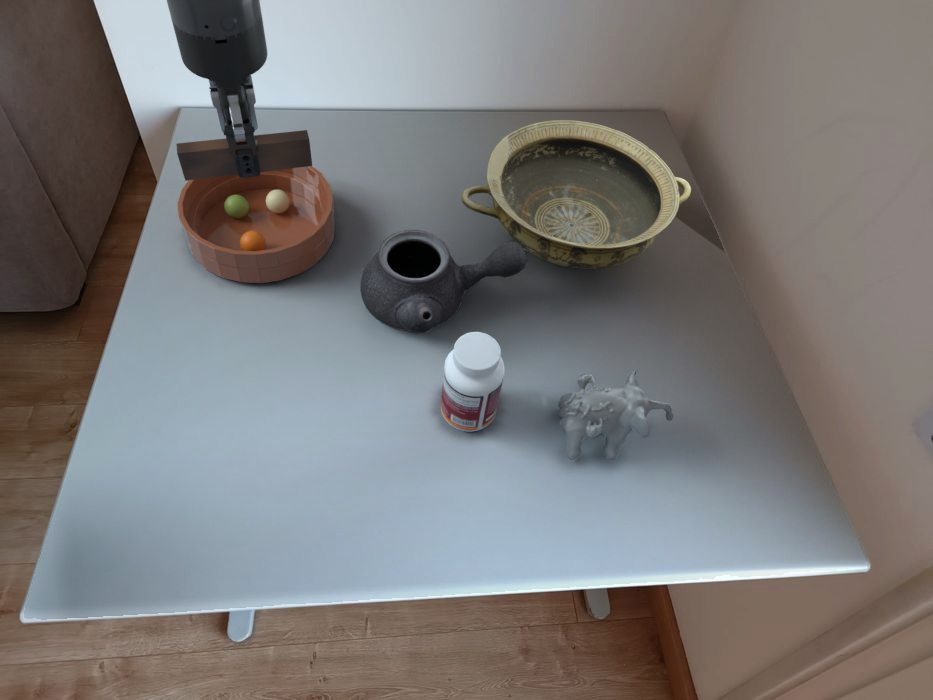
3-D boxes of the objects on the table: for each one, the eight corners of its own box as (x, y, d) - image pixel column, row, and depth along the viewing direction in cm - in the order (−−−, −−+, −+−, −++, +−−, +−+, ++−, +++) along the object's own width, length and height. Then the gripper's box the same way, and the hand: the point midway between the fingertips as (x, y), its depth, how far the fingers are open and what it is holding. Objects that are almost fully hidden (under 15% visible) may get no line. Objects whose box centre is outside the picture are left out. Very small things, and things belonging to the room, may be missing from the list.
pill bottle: (480, 378, 81) (492, 318, 72) (505, 422, 78) (520, 364, 69) (430, 396, 79) (436, 335, 70) (453, 441, 76) (462, 384, 67)
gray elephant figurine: (538, 409, 79) (551, 370, 73) (631, 381, 83) (651, 342, 76) (575, 481, 74) (592, 446, 68) (672, 449, 78) (697, 412, 72)
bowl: (193, 297, 84) (183, 265, 80) (183, 194, 94) (173, 160, 90) (347, 273, 88) (345, 241, 84) (321, 177, 98) (318, 144, 94)
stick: (185, 180, 73) (177, 153, 71) (184, 170, 74) (176, 143, 71) (312, 166, 76) (309, 139, 73) (310, 156, 77) (307, 129, 74)
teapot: (368, 363, 81) (366, 307, 73) (356, 263, 89) (353, 203, 81) (529, 349, 84) (544, 293, 76) (502, 254, 93) (513, 195, 85)
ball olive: (227, 225, 91) (223, 207, 88) (225, 209, 92) (221, 191, 90) (252, 221, 91) (248, 204, 89) (249, 206, 93) (245, 188, 90)
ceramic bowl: (647, 174, 105) (668, 116, 97) (701, 297, 91) (731, 242, 83) (445, 179, 100) (450, 119, 92) (470, 310, 87) (478, 253, 79)
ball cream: (269, 219, 92) (265, 202, 89) (265, 203, 93) (262, 186, 91) (292, 216, 92) (290, 198, 90) (289, 200, 94) (286, 183, 92)
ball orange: (243, 262, 87) (239, 244, 85) (240, 245, 89) (236, 227, 86) (268, 258, 88) (265, 241, 85) (265, 241, 89) (262, 224, 87)
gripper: (166, -29, 64) (206, 131, 78) (173, 58, 57) (217, 218, 71) (251, -33, 66) (276, 124, 80) (270, 50, 58) (293, 208, 72)
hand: (248, 167), depth 75 cm, fingers closed on stick, 1 cm apart
